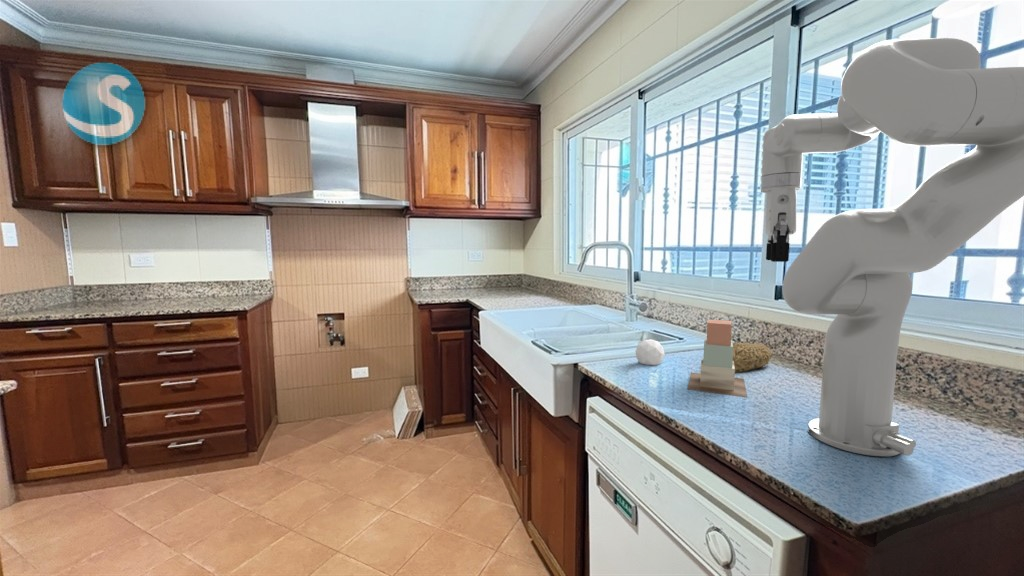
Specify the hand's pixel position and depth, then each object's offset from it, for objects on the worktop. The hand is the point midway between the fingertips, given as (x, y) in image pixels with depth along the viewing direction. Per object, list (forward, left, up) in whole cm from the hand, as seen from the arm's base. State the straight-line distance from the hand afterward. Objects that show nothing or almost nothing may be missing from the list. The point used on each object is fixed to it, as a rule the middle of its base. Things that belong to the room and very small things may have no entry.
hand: (776, 260), depth 93 cm
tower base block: (+4, +11, -29) cm, 32 cm away
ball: (+24, +17, -31) cm, 42 cm away
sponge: (+17, -7, -31) cm, 36 cm away
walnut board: (+4, +11, -30) cm, 32 cm away
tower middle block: (+4, +11, -24) cm, 27 cm away
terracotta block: (+4, +11, -19) cm, 23 cm away
